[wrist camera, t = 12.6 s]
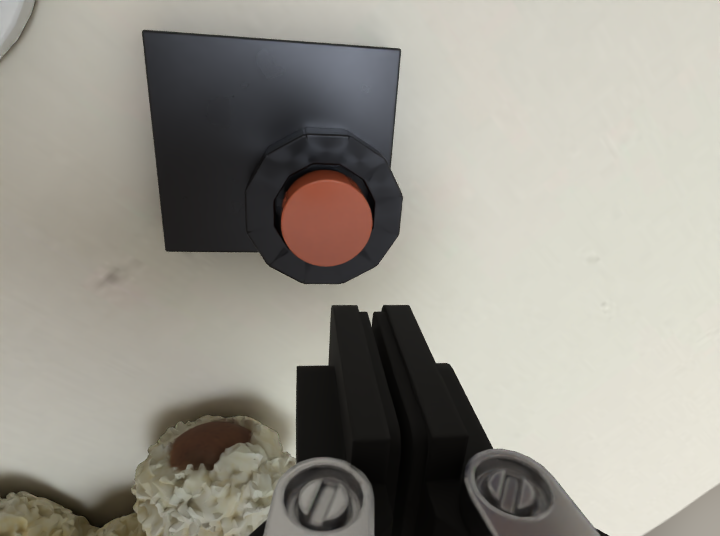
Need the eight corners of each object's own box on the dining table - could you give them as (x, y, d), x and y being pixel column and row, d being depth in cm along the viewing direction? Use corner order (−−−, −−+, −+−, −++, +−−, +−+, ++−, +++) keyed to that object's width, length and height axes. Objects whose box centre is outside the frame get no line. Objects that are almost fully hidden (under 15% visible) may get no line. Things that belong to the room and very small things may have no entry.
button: (281, 250, 21) (280, 267, 19) (281, 167, 19) (280, 177, 18) (363, 251, 21) (369, 267, 20) (369, 170, 20) (376, 180, 18)
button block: (177, 249, 24) (156, 284, 20) (156, 32, 20) (125, 27, 16) (379, 251, 25) (394, 284, 22) (397, 49, 21) (418, 48, 18)
